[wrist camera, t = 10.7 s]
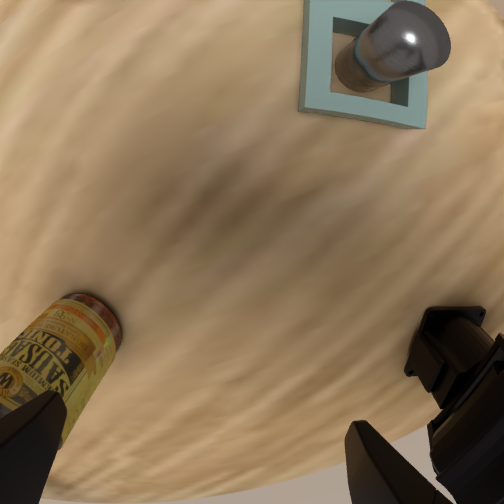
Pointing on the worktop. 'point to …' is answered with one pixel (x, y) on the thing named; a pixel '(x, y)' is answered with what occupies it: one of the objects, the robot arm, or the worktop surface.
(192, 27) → the worktop surface
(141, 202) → the worktop surface
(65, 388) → the sauce bottle
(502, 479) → the robot arm
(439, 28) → the peg
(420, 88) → the pegboard
